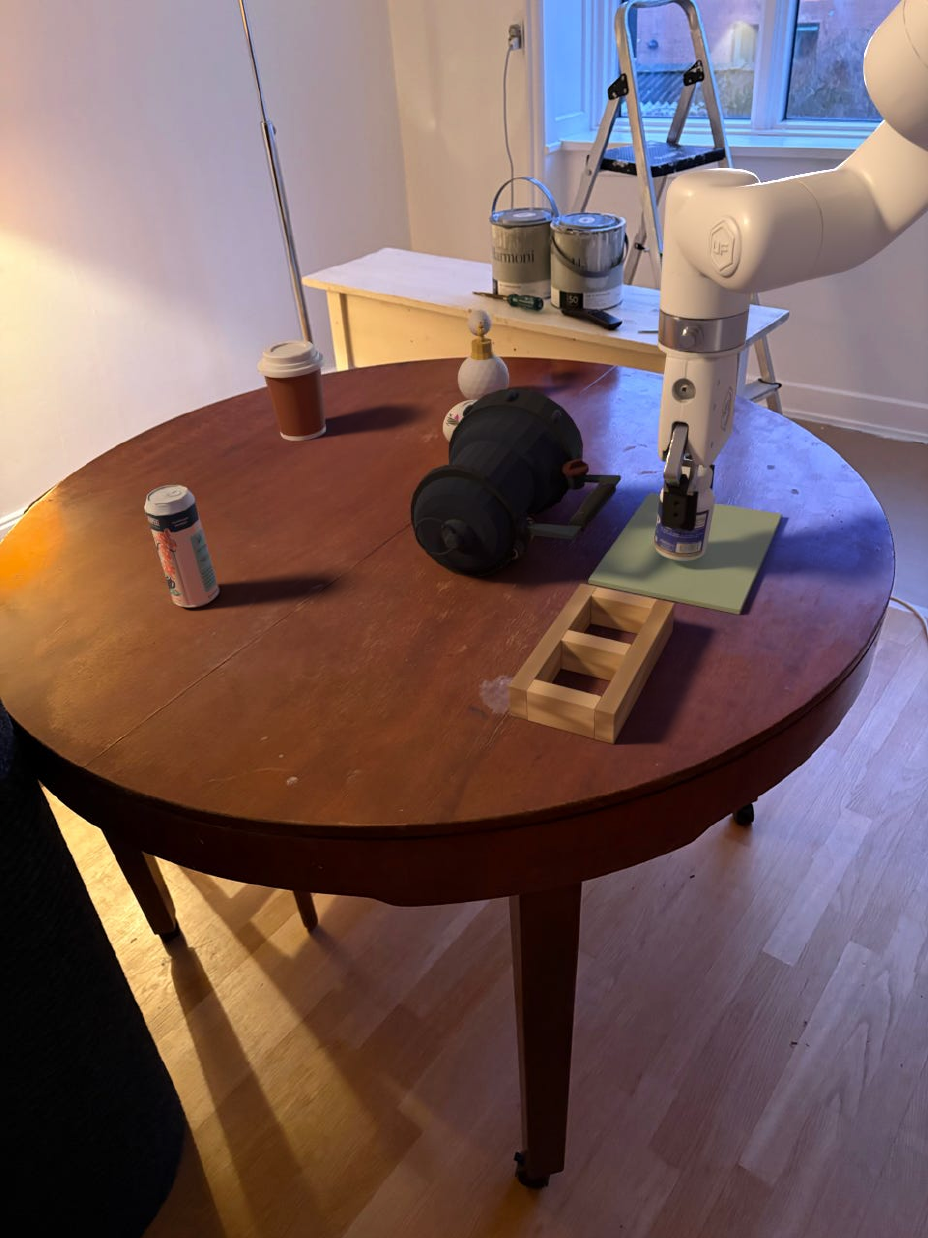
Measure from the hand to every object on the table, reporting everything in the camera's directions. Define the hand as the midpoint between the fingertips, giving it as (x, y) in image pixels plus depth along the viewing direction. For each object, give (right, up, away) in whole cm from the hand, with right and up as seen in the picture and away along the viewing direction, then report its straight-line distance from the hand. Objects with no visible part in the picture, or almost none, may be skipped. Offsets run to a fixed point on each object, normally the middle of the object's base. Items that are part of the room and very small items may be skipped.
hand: (686, 511), depth 88 cm
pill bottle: (0, -4, +3) cm, 5 cm away
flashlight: (-16, -3, +8) cm, 18 cm away
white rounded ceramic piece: (-21, +11, +30) cm, 38 cm away
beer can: (-50, -9, +4) cm, 51 cm away
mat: (+2, -3, +6) cm, 7 cm away
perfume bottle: (-19, +22, +45) cm, 54 cm away
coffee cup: (-45, +16, +39) cm, 62 cm away
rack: (-10, -15, -10) cm, 21 cm away
